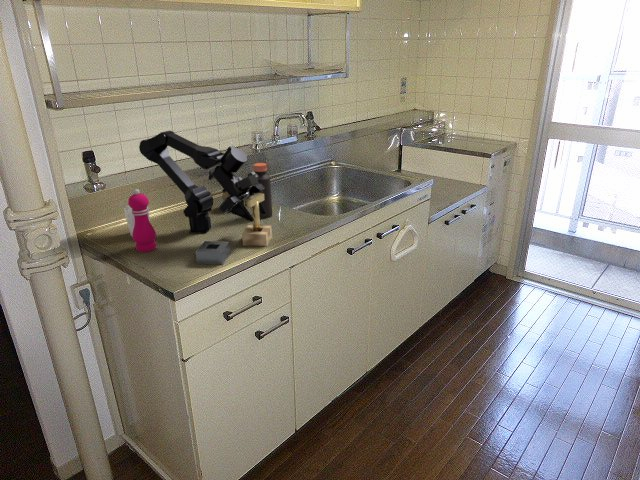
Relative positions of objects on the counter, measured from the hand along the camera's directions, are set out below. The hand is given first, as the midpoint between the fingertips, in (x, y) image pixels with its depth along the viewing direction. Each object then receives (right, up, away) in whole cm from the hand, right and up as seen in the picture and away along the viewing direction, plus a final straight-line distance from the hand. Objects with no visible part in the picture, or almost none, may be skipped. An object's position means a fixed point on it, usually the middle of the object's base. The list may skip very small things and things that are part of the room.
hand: (259, 217), depth 154 cm
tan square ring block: (-1, -8, +4) cm, 9 cm away
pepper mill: (-37, -10, 0) cm, 38 cm away
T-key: (-1, -7, +4) cm, 8 cm away
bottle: (-2, +2, +27) cm, 27 cm away
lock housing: (-13, -13, -9) cm, 20 cm away
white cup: (-43, -5, +12) cm, 45 cm away
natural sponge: (-15, +5, +36) cm, 40 cm away
